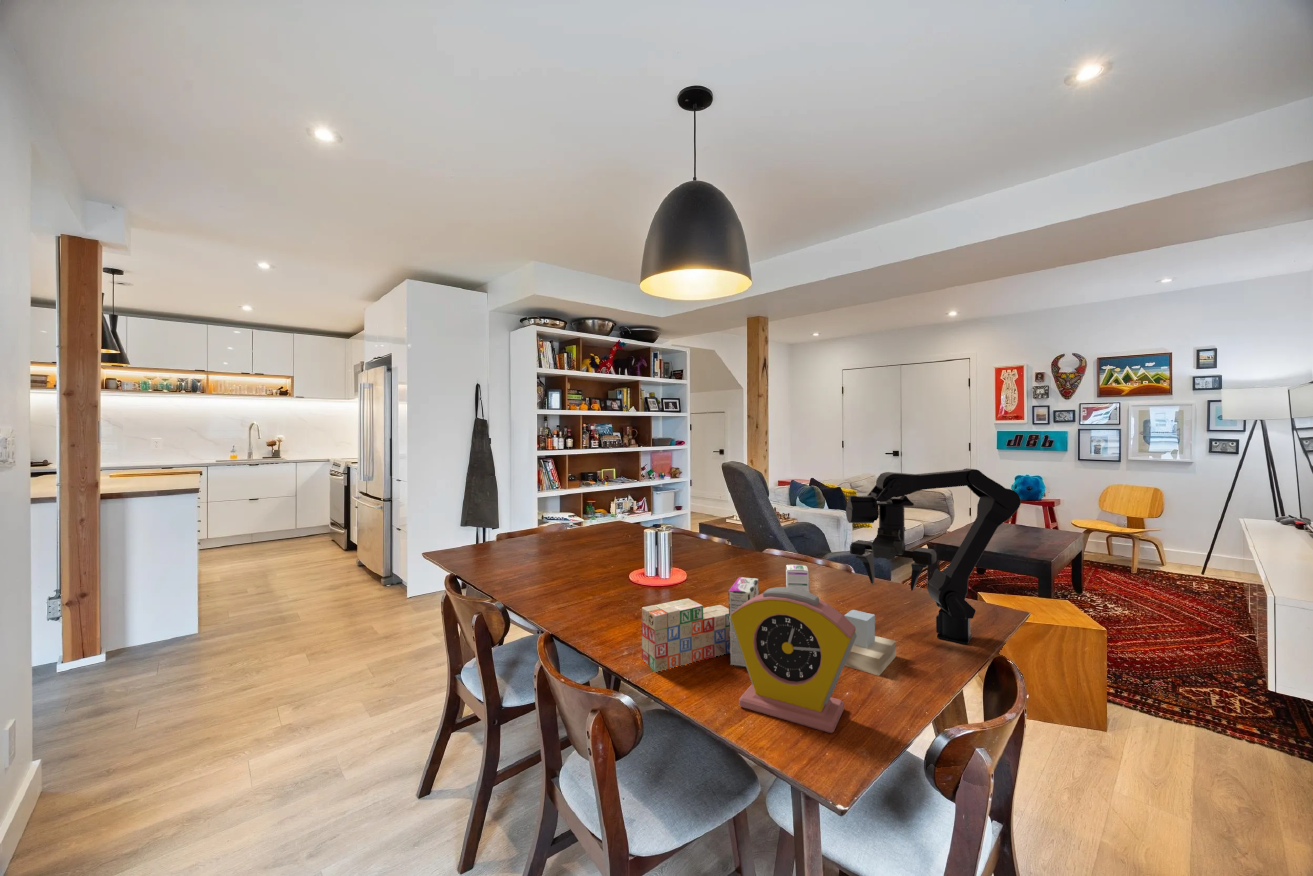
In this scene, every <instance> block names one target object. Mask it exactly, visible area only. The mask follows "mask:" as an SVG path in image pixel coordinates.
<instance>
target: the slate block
mask: <svg viewBox="0 0 1313 876" xmlns="http://www.w3.org/2000/svg"><path fill="white" fill-rule="evenodd" d="M843 615H844V616H845V617H846V618H847V619H848V620H849V621H850V622H851V623H852V624H853V625H854V626H855V628H856V629H855V630H856V631H855V633H856V635H857V637H856V639H855V642H854V644H853V645H855V646H859V647H863V648H866V649H867V648H868V647H869V646H871V645H872V644H873V643H874V642H875V636H876V628H875V627H876V615H875V614H874V613H868V612H864V611H860V610H856V609H851V610H850V611H848V612H847V613H845V614H843Z"/></svg>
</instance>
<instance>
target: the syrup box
mask: <svg viewBox="0 0 1313 876" xmlns="http://www.w3.org/2000/svg"><path fill="white" fill-rule="evenodd" d="M809 572H810V571H809V568H808V565H805V564H786V565H785V587H794V588H797V589H801V590H804V591H807V592H810V582H809V581H810V578H809V577H810V576H809V575H810V574H809Z"/></svg>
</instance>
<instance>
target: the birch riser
mask: <svg viewBox="0 0 1313 876" xmlns="http://www.w3.org/2000/svg"><path fill="white" fill-rule="evenodd" d="M896 657H897V641H896V640H893V639H890V638H885V637H882V636H881V637H880V636H878V635H875V642H874V643H873V644H872V645H871V646H869V647H868V648H867V649H866V648H863V647H859V646H855V645H853V646H852V649H851V651H850V653H849V656H848V658H847V660H846V663H845V665H844V667H846V668H851V669H855V670H857V671H860V672H865V673H869V674H871V675H875V676H878V677H880V676H881V674H882V673H883V672H884V671H885V670H886V669H887V668H888V666H889V665H890V664H892V662H893V660H894V659H895V658H896Z"/></svg>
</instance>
